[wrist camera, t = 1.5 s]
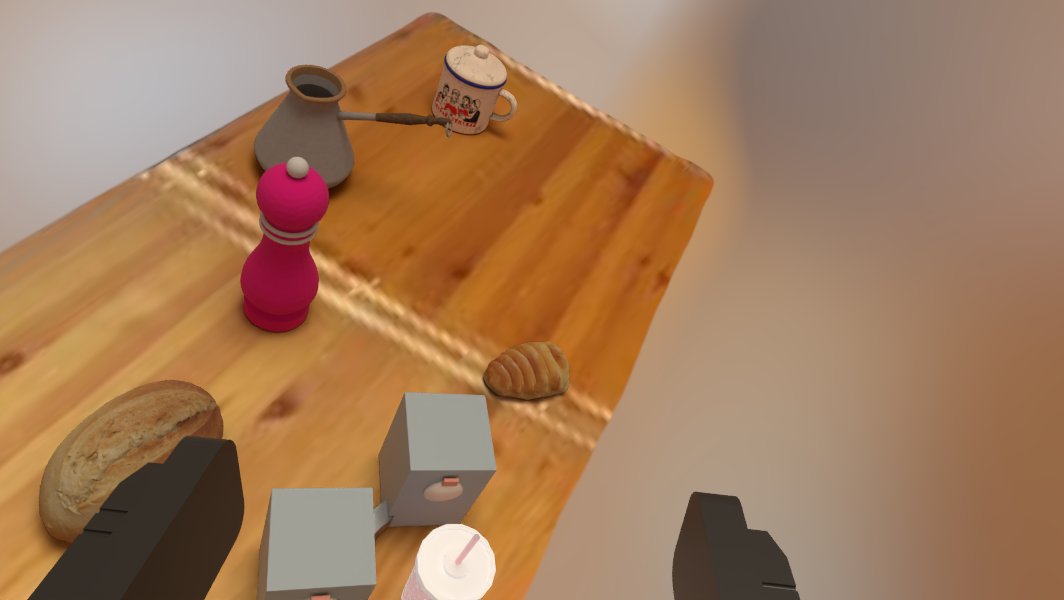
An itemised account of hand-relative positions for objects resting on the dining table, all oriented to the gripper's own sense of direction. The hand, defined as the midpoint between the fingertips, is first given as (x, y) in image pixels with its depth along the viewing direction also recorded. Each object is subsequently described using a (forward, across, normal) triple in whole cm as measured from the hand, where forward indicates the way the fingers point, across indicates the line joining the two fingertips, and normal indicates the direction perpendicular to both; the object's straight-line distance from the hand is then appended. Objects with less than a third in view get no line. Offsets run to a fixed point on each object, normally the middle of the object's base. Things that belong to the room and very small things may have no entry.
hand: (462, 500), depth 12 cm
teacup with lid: (+95, -12, -21) cm, 98 cm away
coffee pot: (+72, -24, -24) cm, 80 cm away
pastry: (+54, +1, -37) cm, 66 cm away
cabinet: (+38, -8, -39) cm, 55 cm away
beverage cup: (+29, -5, -43) cm, 52 cm away
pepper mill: (+52, -25, -30) cm, 65 cm away
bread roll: (+32, -29, -35) cm, 56 cm away
